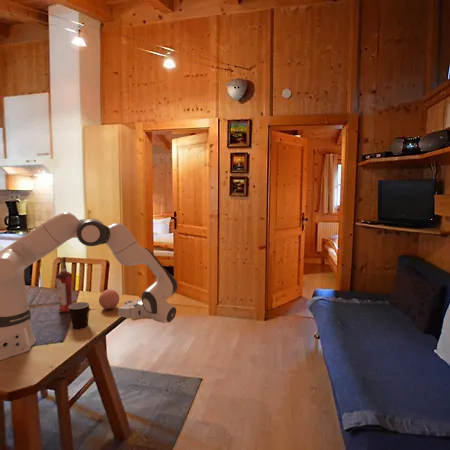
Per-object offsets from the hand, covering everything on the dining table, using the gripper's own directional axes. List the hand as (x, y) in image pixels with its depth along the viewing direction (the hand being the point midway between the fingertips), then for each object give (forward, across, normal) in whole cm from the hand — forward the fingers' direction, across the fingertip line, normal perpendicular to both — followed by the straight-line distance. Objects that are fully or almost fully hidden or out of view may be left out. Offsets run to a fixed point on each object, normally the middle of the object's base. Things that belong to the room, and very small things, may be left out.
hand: (126, 302), depth 164 cm
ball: (+13, 0, +1) cm, 13 cm away
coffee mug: (+7, +20, +6) cm, 22 cm away
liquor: (+29, +14, +6) cm, 33 cm away
